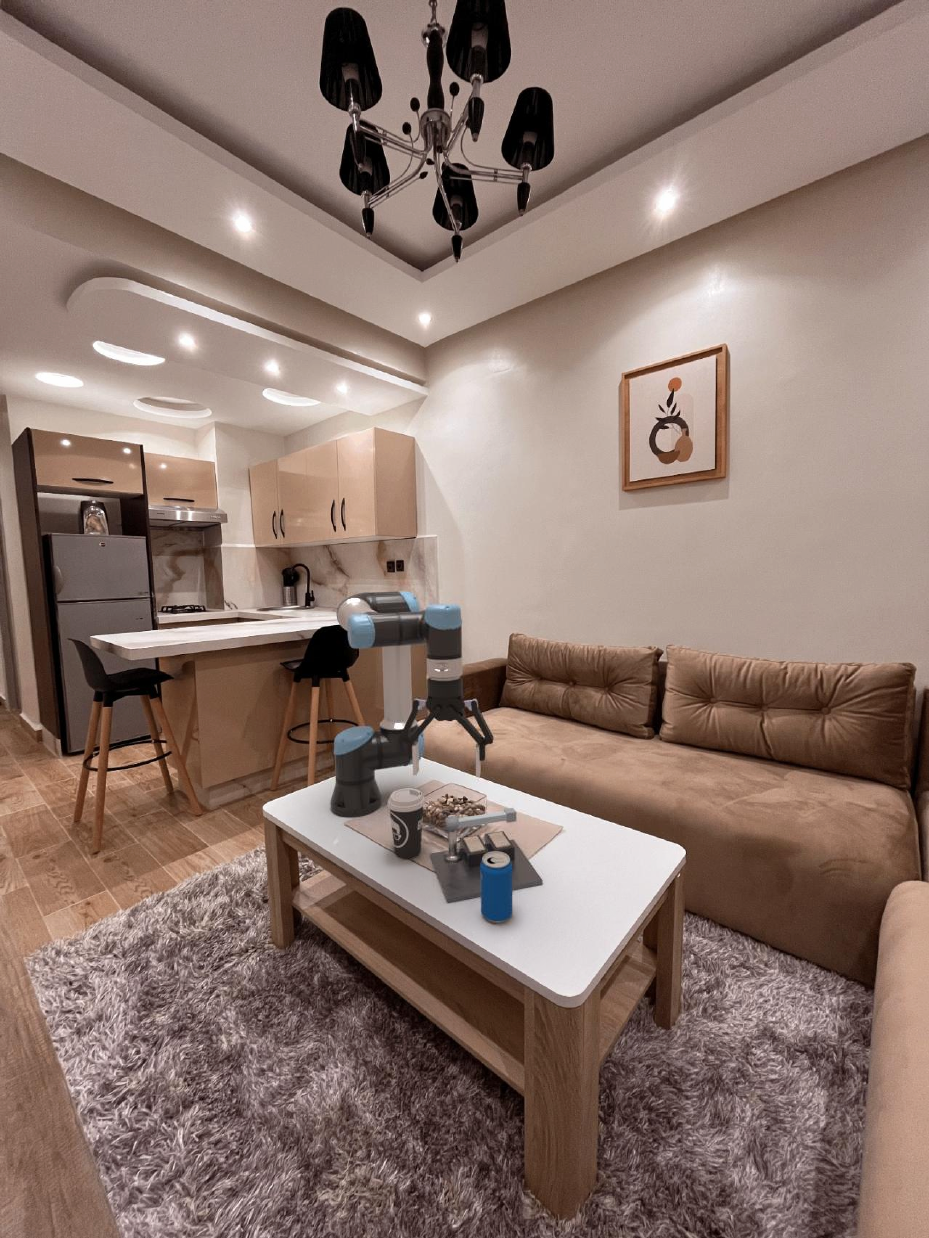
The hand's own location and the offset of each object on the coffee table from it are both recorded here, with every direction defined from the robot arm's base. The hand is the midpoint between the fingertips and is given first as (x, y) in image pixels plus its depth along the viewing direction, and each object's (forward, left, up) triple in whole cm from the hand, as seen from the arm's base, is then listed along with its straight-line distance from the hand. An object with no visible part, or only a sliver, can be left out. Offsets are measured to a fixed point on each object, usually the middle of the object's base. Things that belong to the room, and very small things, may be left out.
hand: (447, 774), depth 108 cm
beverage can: (+10, +8, -27) cm, 30 cm away
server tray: (-5, +10, -27) cm, 29 cm away
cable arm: (-11, +11, -19) cm, 25 cm away
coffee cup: (-18, -6, -27) cm, 33 cm away
